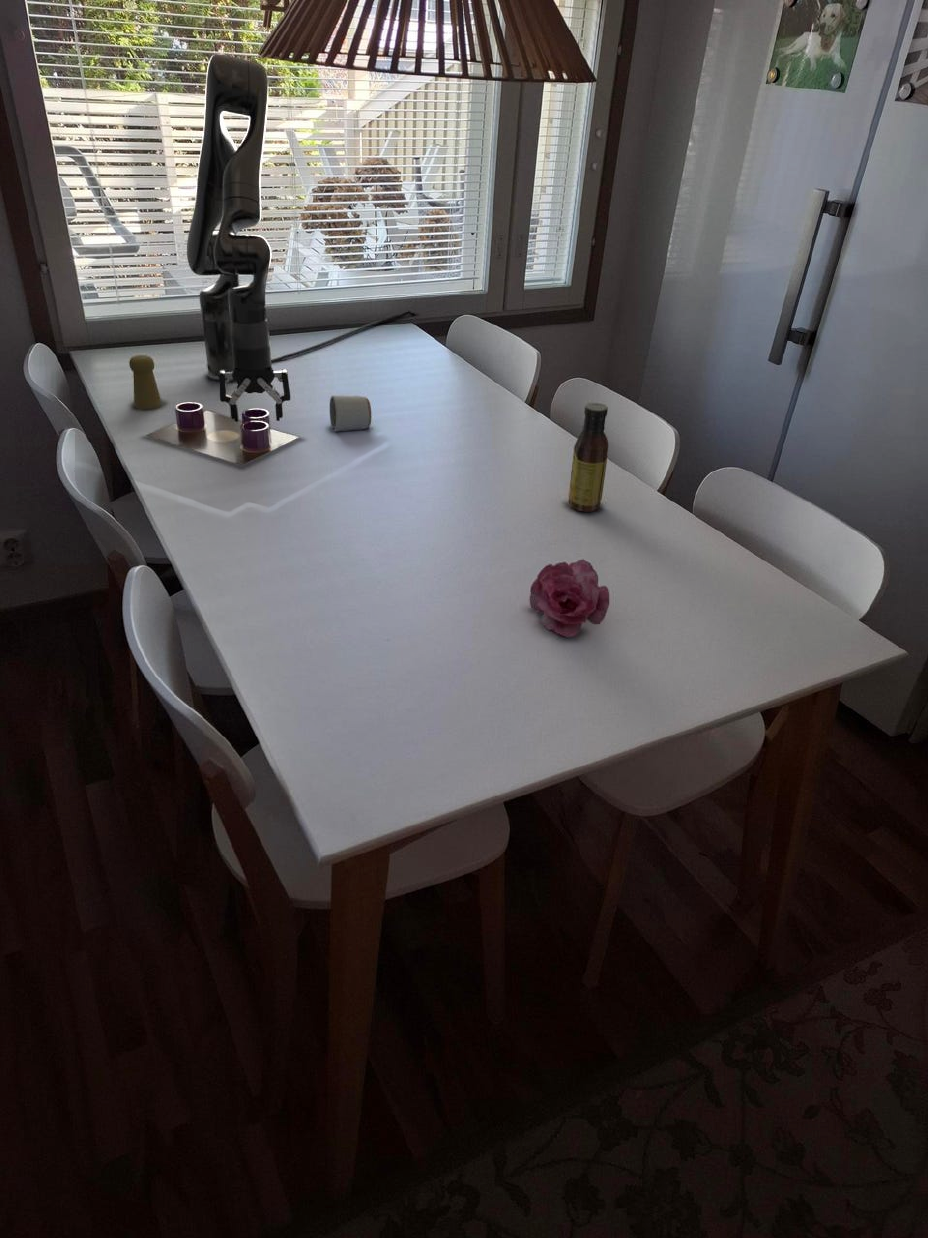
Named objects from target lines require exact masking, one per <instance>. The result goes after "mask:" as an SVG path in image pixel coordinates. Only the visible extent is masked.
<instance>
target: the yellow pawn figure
mask: <svg viewBox="0 0 928 1238" xmlns="http://www.w3.org/2000/svg"><path fill="white" fill-rule="evenodd" d="M128 364H129V368H130V370H131V372H132V373H133V374H132V375H133V406H134V408H135V409H138V410H155V409H158V408H160V407H162V406H163V401H162V398H161V395H160V392H159V388H158V385H157V381H156V377H155V374H154V369H155V361H154V359H153V358H152V357H151V356H150V355H147V354H138V355H137V354H136V355H133V356H132V357H131V358H130V359H129V361H128Z"/></svg>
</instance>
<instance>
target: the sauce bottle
mask: <svg viewBox="0 0 928 1238" xmlns="http://www.w3.org/2000/svg"><path fill="white" fill-rule="evenodd" d="M608 409H609V408H608V406H607V405H606V404H605V403H601V402H588V403H586V404H585V406H584V410H583V411H584V412H583V413H584V421H583V426H582V430H581V432H580V433H579V436H578V437H577V440H576V442H575V444H574V446H573V454H572V464H571V473H570V481H569V490H568V491H569V492H568V504H569V507H571V508H572V509H573V510H576V511H578V512H583V513H590V512H594V511H595V512H596V511H598V509H600V507H601V502H602V500H603V493H604V488H605V487H604V486H605V479H606V472H607V471H606V470H607V463H608V452H609V440H608V436H607V435H606V433H605V429H606V427H605V425H606V417H607V415H608Z"/></svg>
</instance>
